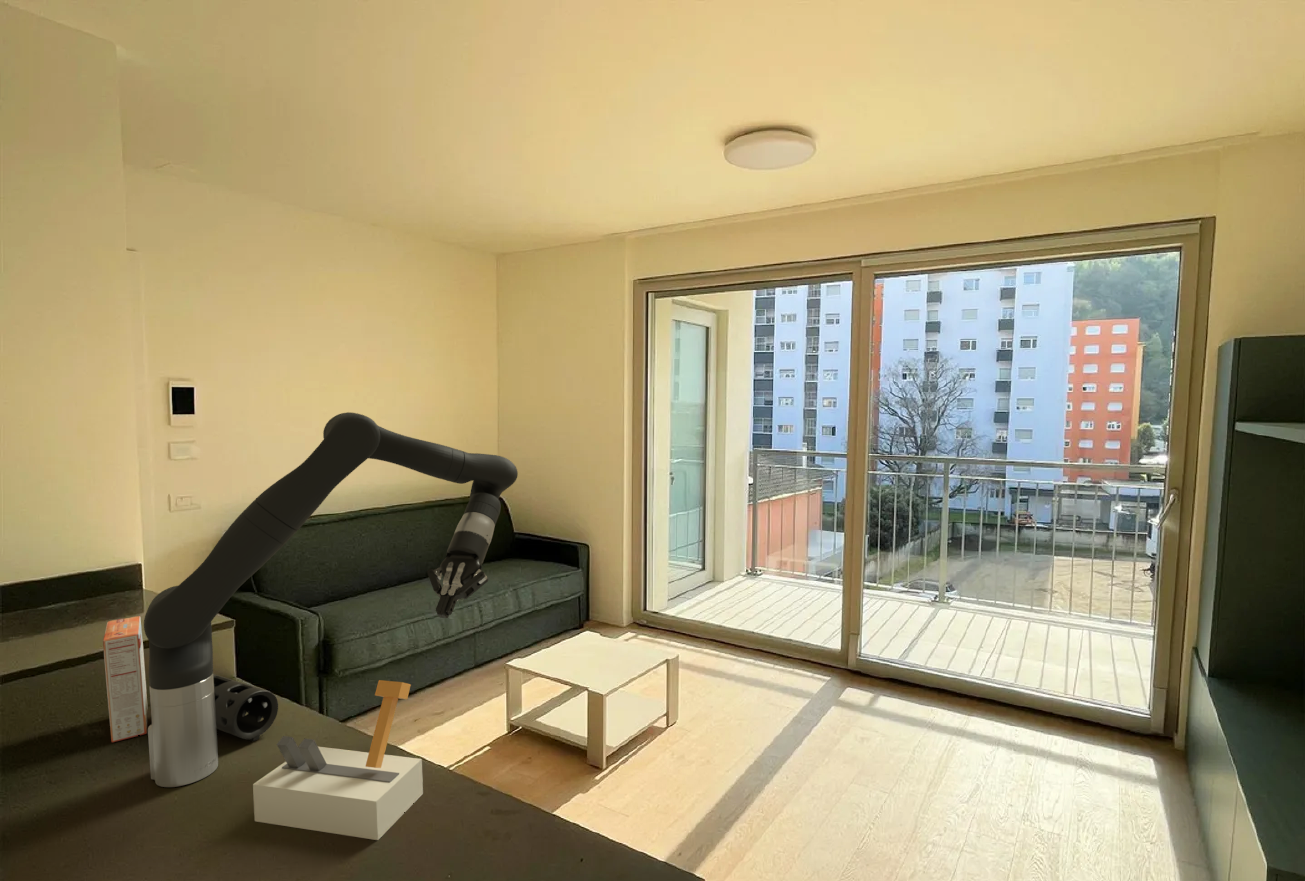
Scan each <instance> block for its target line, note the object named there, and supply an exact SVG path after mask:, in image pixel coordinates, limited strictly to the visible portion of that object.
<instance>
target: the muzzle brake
mask: <svg viewBox="0 0 1305 881" xmlns="http://www.w3.org/2000/svg"><path fill="white" fill-rule="evenodd" d="M213 680H214V696H215V713H216V730H219V731H221V732H224V733H226V734H229V735H232V736H235V737H237V738H240V739H243V740H247V741H250V742H256V741H257V740H259V739H260V737H261V735H263V734H264V733H266V732H267V731H268V730H269V729H270V727H271V726H272V725H273V724H274V721H275V720H276V718H277V715H278V712H279V702H278V699H277V698H278V697H276V695H275V694H274V693H272V691H269V690H266V689H263V688H260V687H256V686H253V685H251V684H250V685H249V684H246V683H244V682H241V681H237V680H234V679H231V678H229V677H228V678H227V677H224V676H221V675H218V674H215V673H213Z"/></svg>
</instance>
